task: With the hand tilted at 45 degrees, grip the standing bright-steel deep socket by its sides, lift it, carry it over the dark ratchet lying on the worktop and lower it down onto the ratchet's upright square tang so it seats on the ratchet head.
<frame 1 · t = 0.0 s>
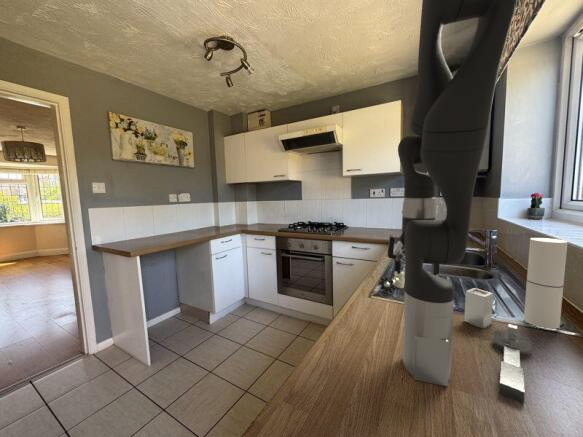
hand: (415, 274, 64), 17 cm above the countertop, tool pointing down, fingers open, 8 cm apart
valve: (394, 289, 97), on the countertop
socket: (477, 322, 70), on the countertop
cylindrical container: (540, 324, 69), on the countertop
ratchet: (511, 347, 59), on the countertop
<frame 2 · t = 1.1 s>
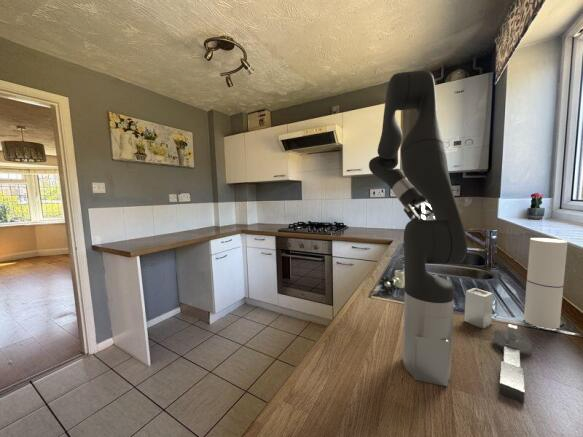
hand: (439, 230, 75), 27 cm above the countertop, tool tilted 45°, fingers open, 8 cm apart
nothing on the countertop moved.
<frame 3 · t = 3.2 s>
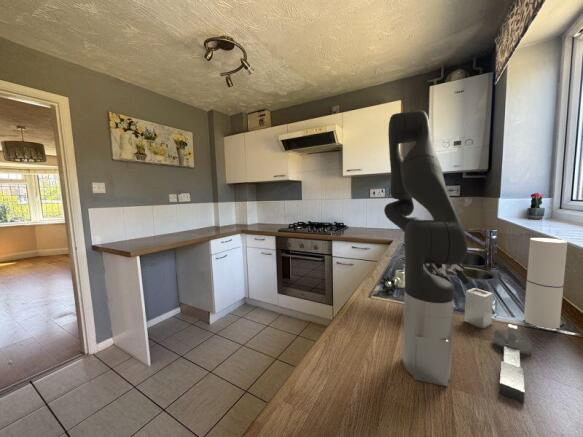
hand: (460, 285, 74), 10 cm above the countertop, tool tilted 45°, fingers open, 8 cm apart
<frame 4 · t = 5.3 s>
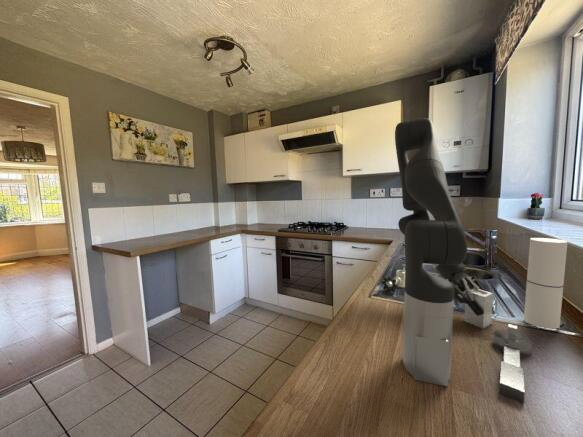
hand: (485, 312, 68), 4 cm above the countertop, tool tilted 45°, fingers closed on socket, 4 cm apart
socket: (477, 322, 71), on the countertop, touching gripper
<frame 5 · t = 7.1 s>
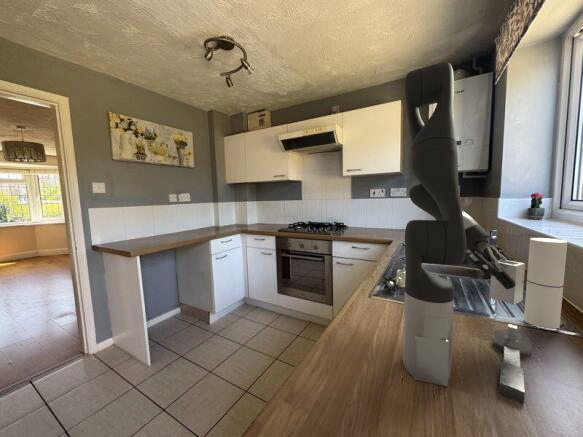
hand: (516, 285, 58), 16 cm above the countertop, tool tilted 45°, fingers closed on socket, 4 cm apart
socket: (505, 298, 60), point 12 cm above the countertop, touching gripper
when the fingers open (8 cm above the countertop, at t = 9.3 s): socket drops 1 cm, resting on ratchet.
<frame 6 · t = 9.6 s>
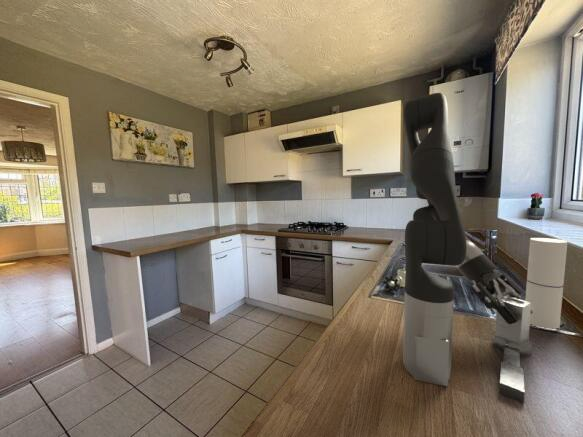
hand: (521, 318, 57), 8 cm above the countertop, tool tilted 45°, fingers open, 7 cm apart
socket: (511, 337, 59), point 2 cm above the countertop, touching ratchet
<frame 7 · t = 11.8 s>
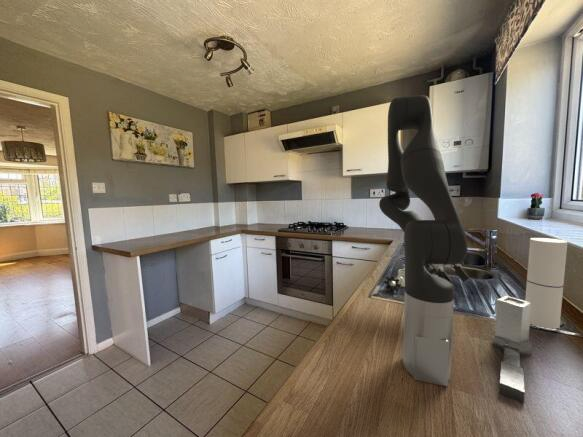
hand: (458, 282, 69), 13 cm above the countertop, tool tilted 45°, fingers open, 8 cm apart
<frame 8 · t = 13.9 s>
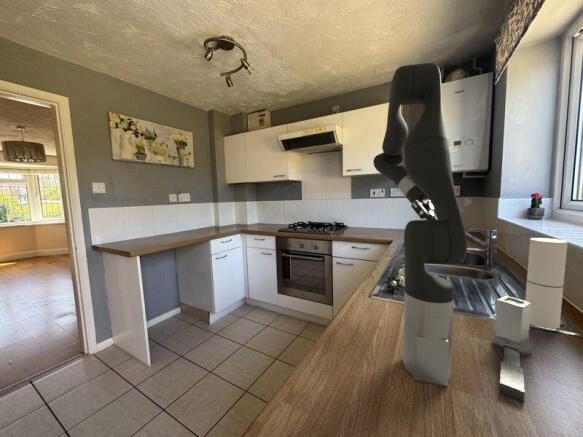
hand: (448, 226, 72), 29 cm above the countertop, tool tilted 45°, fingers open, 8 cm apart
at the end: socket 0.1 cm off-centre on the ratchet, point 2.5 cm above the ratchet's base; socket tilted 0°; the gripper is holding nothing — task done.
